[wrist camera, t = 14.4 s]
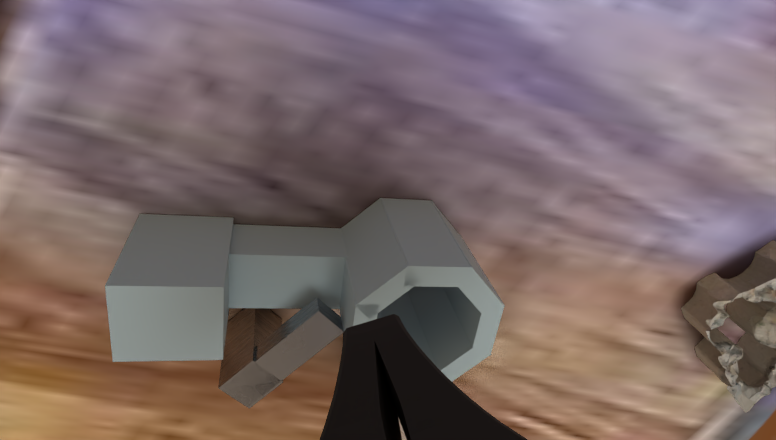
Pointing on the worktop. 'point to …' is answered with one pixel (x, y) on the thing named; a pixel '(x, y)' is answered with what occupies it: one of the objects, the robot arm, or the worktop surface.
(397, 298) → the link
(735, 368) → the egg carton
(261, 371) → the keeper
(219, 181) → the worktop surface
